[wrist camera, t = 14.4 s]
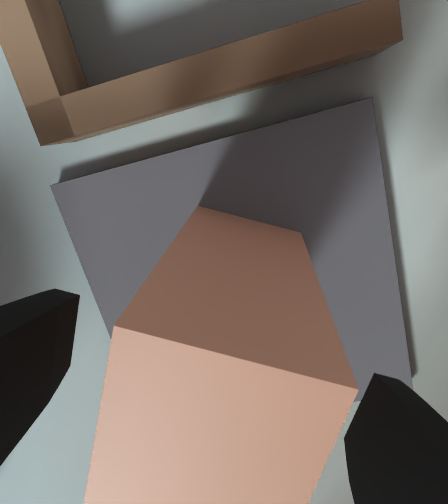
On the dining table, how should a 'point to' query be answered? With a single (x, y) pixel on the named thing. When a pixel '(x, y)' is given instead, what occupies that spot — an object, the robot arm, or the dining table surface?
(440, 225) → the dining table surface
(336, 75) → the dining table surface
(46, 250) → the dining table surface
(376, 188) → the mat
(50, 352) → the robot arm
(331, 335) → the block
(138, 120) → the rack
